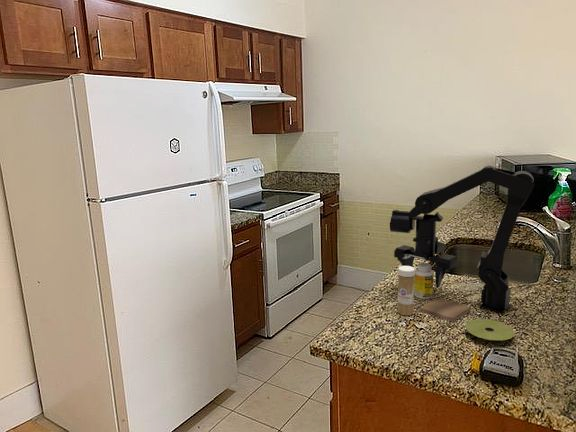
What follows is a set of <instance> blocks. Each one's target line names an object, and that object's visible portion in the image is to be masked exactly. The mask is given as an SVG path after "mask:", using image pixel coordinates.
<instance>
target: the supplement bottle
mask: <svg viewBox="0 0 576 432" xmlns="http://www.w3.org/2000/svg"><path fill="white" fill-rule="evenodd" d="M434 273H435V272H434V271H433V270H432V264H430V263H427V262H420V263H417V269H415V275H414V297H415V298H417V299H421V300H429V299H431V298H432V297H433V296H434V295H433V294H434V293H433V292H434V277H435V276H434Z"/></svg>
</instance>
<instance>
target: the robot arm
mask: <svg viewBox="0 0 576 432" xmlns="http://www.w3.org/2000/svg"><path fill="white" fill-rule="evenodd" d="M485 183H491V184H492V183H493V184H495V185H498V186H500V187H503V188H506V189H507V190H508V191H507V198H506V204H505V208H504V210H503V213H502V215H501V216H502V217H501V219H500V222H499V223H498V224H499V225H498V227H497V229H496V230H497V231H496V233H495V236H494V239H493V242H492V244H491V247H490V248H489V250H488V251H487V252H486V251H484V250H483V251H482V253H481V256H480V260H479V262H478V264H477V268H476V271H478V278H479V279H480V281H482V283H484V284H483V288H482V289H481V297H480V304H479V307H480V308H484V309H487V310H490V311H493V312H497V313H500V314H503V313H505V312H506V311H507V310H509V309H510V308H512V303H511V304H510V299H511V287H510V276H509V275H508V274H507V273H506V272H505V271H504V269H503V265H504V256H505V252H506V251H507V247H508V244H509V243H510V238H511V237H512V233H513V230H514V227H515V225H516V223H517V219H518V217H519V215H520V211H521V209H522V207H523V206H524V204H525V203H526V201H527V200H528V198H529V196H530V195H531V193H532V192H533V189H534V188H535V180H534V177H533V175H532V174H531V173H530V172H528V171H526V170H525V171H524V170H519V171H516V172H515V171H513V170H509V169H503V168H499V167H494V166H493V165H486V166H484V167H482V168H481V169H479V170H477V171H476V172H475V171H474V172H473V173H471V174H469V175H467V176H465V177H462V178H461V179H459V180H456V181H454V182H452V183H451V184H448V185H446V186H444V187H440V188H434V189H432V190H428V191H425V192H423V193H421V194H420V195H419V196H418V197H416V199H415V201H414V206H413V208H411V209H410V210H409V211H407V210H399V209H393V210H392V212H391V217H390V222H389V230H390V232H391V233H403V234H410V233H411V231H414V230H415V237H413V238H412V241H413V242H415V244H414V246H415V248H414V246H410V245H405V244H403V245H401V246H399V247H396V248H395V249H394V251H393V257H394V258H397V261H399V263H400V264H401V266H411V267H413V268H414V261H415V259H420V260H424V261H429V262H434V263H435V265H436V267H435V268H434V273H435V276H434V277H435V287H436V288H439V287H440V285H441V283H442V282H443V279H444V276H445V275H446V273H447V272H448V271H449V270H451V269H454V268H456V267H458V266H459V259H458V257H457V256H456V255H450V254H446V253H445V248H446V243H445V242H440V241H439V237H438V236H436V231H437V230H436V229H437V223H438V222H439V223H440V222H442V221H443V220H444V217H443V216H442V215H441V214H440V212H439V211H437V212H436V213H434V214H432V212H434V211H435V210H437V209H439V207H441V206H442V205H444V204H445V203H446V202H448V201H449V200H451V199H453V198H455V197H458V196H460V195H462V194H464V193H466V192H468V191H470V190H473V189H474V188H475V189H476V188H477V187H479V186H481V185H483V184H485ZM422 214H423V216H420V215H422ZM440 253H441V254H442V255H440V256H439V255H438V254H440ZM444 253H445V254H444Z"/></svg>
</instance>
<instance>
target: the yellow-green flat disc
mask: <svg viewBox="0 0 576 432" xmlns="http://www.w3.org/2000/svg"><path fill="white" fill-rule="evenodd" d="M464 328H465V330H466V331H467V332H468V333H470V334H471V335H473V336H475V337H477V338H480V339H484V340H488V341H507V340H510V339H512V338H513V337H515V335H516V334H515V330H514V329H513V328H512V327H511V326H510V325H507V324H506V323H504V322H501V321H497V320H493V319H484V318H478V319H471V320H469V321H467V322H466V323H465V325H464Z"/></svg>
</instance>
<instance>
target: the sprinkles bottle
mask: <svg viewBox="0 0 576 432" xmlns="http://www.w3.org/2000/svg"><path fill="white" fill-rule="evenodd" d="M415 270H416V268H415V267H414V266H413V267H411V266H402V265H401V266H398V269H397V275H398V281H397V282H398V284H397V310H396V311H397V313H398V314H399V315H402V316H412V315H413V314H414V302H415V301H414V297H415V295H414V280H415Z"/></svg>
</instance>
